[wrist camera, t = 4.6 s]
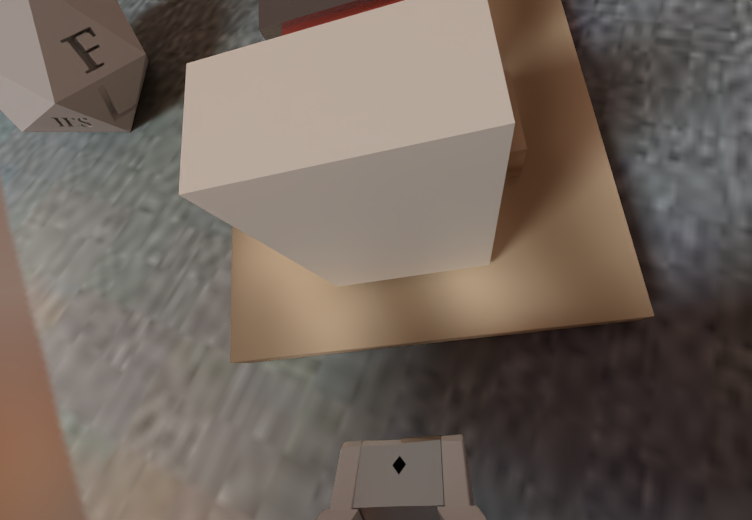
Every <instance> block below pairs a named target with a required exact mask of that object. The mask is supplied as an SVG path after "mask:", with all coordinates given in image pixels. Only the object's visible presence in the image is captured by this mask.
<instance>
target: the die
mask: <svg viewBox="0 0 752 520" xmlns="http://www.w3.org/2000/svg"><path fill="white" fill-rule="evenodd" d="M148 63H149V60H148V58H147V55H146V53H145V51H144V50H143V48H142V46H141V44H140V42H139V40H138V39H137V37H136V35H135V33H134V31H133V30H132V28H131V26H130V24H129V22H128V20H127V19H126V17H125V15H124V13H123V11H122V9H121V8H120V6H119V4H118V2H117V0H0V110H1V111H2V112H3V113H4V114H5V115H6V116H7V117H8V118H9V119H10V120H11V121H12V122H13V123H14V124H15V125H16V126H17V127H18V128H19V129H20V130H21V131H22V132H131V128H132V125H133V121H134V117H135V113H136V109H137V105H138V102H139V98H140V94H141V90H142V86H143V82H144V79H145V75H146V71H147V67H148Z"/></svg>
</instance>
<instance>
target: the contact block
mask: <svg viewBox="0 0 752 520" xmlns="http://www.w3.org/2000/svg"><path fill="white" fill-rule="evenodd" d="M400 1H404V0H259V30H260V32H261V33H262V35H263V37H264V38H265V40H269V39H273V38H276V37H280V36H283V35H286V34H290V33H293V32H297V31H300V30H304V29H307V28H311V27H314V26H318V25H321V24H324V23H328V22H331V21H335V20H338V19H342V18H345V17H349V16H352V15H355V14H359V13H362V12H366V11H369V10H373V9H376V8H380V7H383V6H387V5H390V4H393V3H397V2H400Z"/></svg>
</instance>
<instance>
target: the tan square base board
mask: <svg viewBox="0 0 752 520" xmlns="http://www.w3.org/2000/svg"><path fill="white" fill-rule="evenodd" d="M487 1H488V5H489V9H490V14H491V18H492V23H493V27H494V32H495V36H496V41H497V45H498V49H499V54H500V58H501V63H502V67H503V72H504V76H505V80H506V85H507V89H508V94H509V98H510V103H511V107H512V111H513V116H514V120H515V126H514V132H513V137H512V143H511V149H510V154H509V160H508V165H507V171H506V176H505V182H504V187H503V193H502V198H501V204H500V210H499V215H498V221H497V226H496V232H495V237H494V243H493V248H492V254H491V259H490V265H485V266H478V267H471V268H464V269H457V270H450V271H443V272H436V273H430V274H423V275H416V276H409V277H402V278H395V279H388V280H381V281H374V282H367V283H360V284H353V285H347V286H340V287H337V286H335V285H333V284H331V283H330V282H328V281H326V280H325V279H323V278H321V277H319V276H318V275H316V274H314V273H313V272H311V271H309V270H307V269H306V268H304V267H302V266H301V265H299V264H297V263H295V262H294V261H292V260H290V259H288V258H287V257H285V256H283V255H282V254H280V253H278V252H276V251H275V250H273V249H271V248H270V247H268V246H266V245H264V244H263V243H261V242H259V241H258V240H256V239H254V238H252V237H251V236H249V235H247V234H245V233H244V232H242V231H240V230H239V229H237V228H235V227H233V226H232V280H231V345H230V363H253V362H262V361H271V360H280V359H290V358H299V357H308V356H317V355H327V354H336V353H345V352H354V351H363V350H373V349H382V348H391V347H400V346H409V345H419V344H428V343H437V342H446V341H455V340H465V339H474V338H483V337H492V336H502V335H511V334H520V333H529V332H538V331H548V330H557V329H566V328H575V327H584V326H594V325H603V324H612V323H621V322H631V321H638V320H642V319H645V318H649V317H653V316H654V313H653V309H652V306H651V303H650V299H649V296H648V292H647V289H646V286H645V282H644V279H643V276H642V272H641V269H640V265H639V262H638V259H637V255H636V252H635V249H634V245H633V242H632V238H631V235H630V232H629V228H628V225H627V222H626V218H625V215H624V211H623V208H622V205H621V201H620V198H619V195H618V191H617V188H616V184H615V181H614V178H613V174H612V171H611V168H610V164H609V161H608V157H607V154H606V151H605V147H604V144H603V141H602V137H601V134H600V130H599V127H598V124H597V120H596V117H595V113H594V110H593V107H592V103H591V100H590V97H589V93H588V90H587V86H586V83H585V80H584V76H583V73H582V70H581V66H580V63H579V59H578V56H577V53H576V49H575V46H574V43H573V39H572V36H571V32H570V29H569V26H568V22H567V19H566V16H565V12H564V9H563V5H562V2H561V0H487Z"/></svg>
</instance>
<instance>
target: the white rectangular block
mask: <svg viewBox="0 0 752 520" xmlns="http://www.w3.org/2000/svg"><path fill="white" fill-rule="evenodd" d="M514 126H515V120H514V116H513V111H512V107H511V103H510V98H509V94H508V89H507V85H506V80H505V76H504V72H503V67H502V63H501V58H500V54H499V49H498V45H497V41H496V36H495V32H494V27H493V23H492V18H491V14H490V9H489V5H488V1H487V0H404V1H400V2H397V3H393V4H390V5H387V6H383V7H380V8H376V9H373V10H369V11H366V12H362V13H359V14H355V15H352V16H349V17H345V18H342V19H338V20H335V21H331V22H328V23H324V24H321V25H318V26H314V27H311V28H307V29H304V30H300V31H297V32H293V33H290V34H286V35H283V36H280V37H276V38H273V39H269V40H266V41H262V42H259V43H255V44H252V45H249V46H245V47H242V48H238V49H235V50H231V51H228V52H224V53H221V54H217V55H214V56H211V57H207V58H204V59H200V60H197V61H193V62H190V63H186V79H185V96H184V113H183V130H182V147H181V164H180V181H179V195H180V196H182V197H184V198H185V199H187V200H189V201H190V202H192V203H194V204H196V205H197V206H199V207H201V208H202V209H204V210H206V211H208V212H209V213H211V214H213V215H215V216H216V217H218V218H220V219H221V220H223V221H225V222H227V223H228V224H230V225H232V226H233V227H235V228H237V229H239V230H240V231H242V232H244V233H245V234H247V235H249V236H251V237H252V238H254V239H256V240H258V241H259V242H261V243H263V244H264V245H266V246H268V247H270V248H271V249H273V250H275V251H276V252H278V253H280V254H282V255H283V256H285V257H287V258H288V259H290V260H292V261H294V262H295V263H297V264H299V265H301V266H302V267H304V268H306V269H307V270H309V271H311V272H313V273H314V274H316V275H318V276H319V277H321V278H323V279H325V280H326V281H328V282H330V283H331V284H333V285H335V286H337V287H340V286H347V285H353V284H360V283H367V282H374V281H381V280H388V279H395V278H402V277H409V276H416V275H423V274H430V273H436V272H443V271H450V270H457V269H464V268H471V267H478V266H485V265H490V259H491V254H492V248H493V243H494V237H495V232H496V226H497V221H498V215H499V210H500V204H501V198H502V193H503V187H504V182H505V176H506V171H507V165H508V160H509V154H510V149H511V143H512V137H513V132H514Z"/></svg>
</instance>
